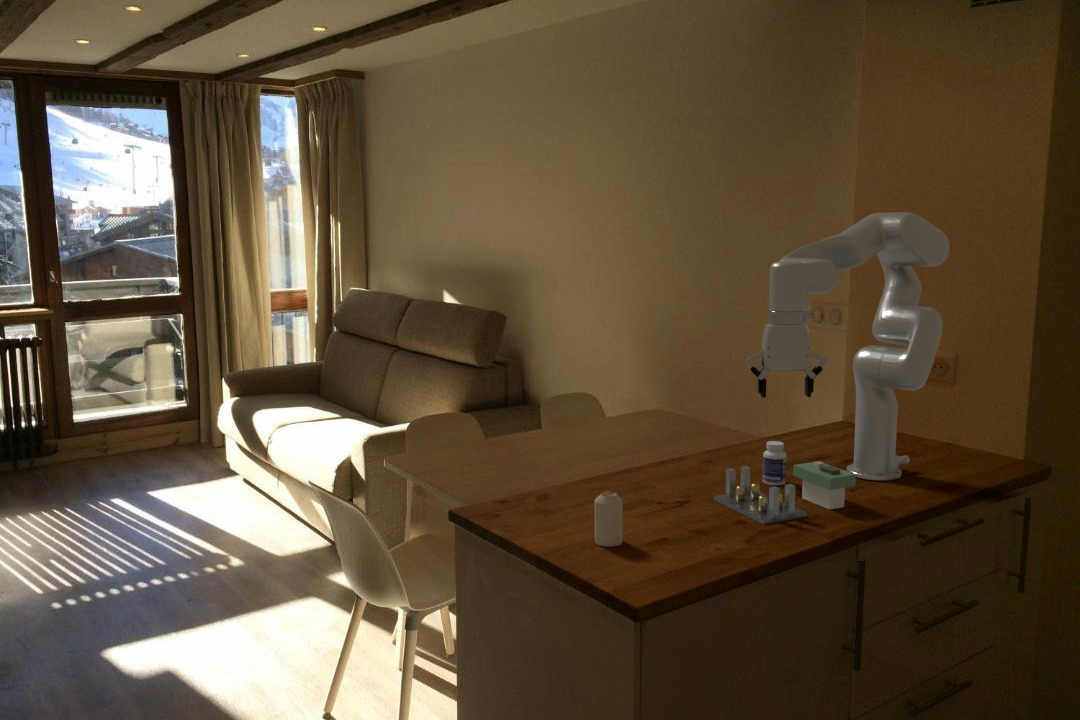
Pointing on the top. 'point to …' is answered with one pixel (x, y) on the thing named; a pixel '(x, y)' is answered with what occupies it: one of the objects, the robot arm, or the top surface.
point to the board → (824, 475)
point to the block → (823, 495)
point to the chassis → (759, 499)
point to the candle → (608, 519)
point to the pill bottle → (774, 464)
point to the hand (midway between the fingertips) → (785, 396)
